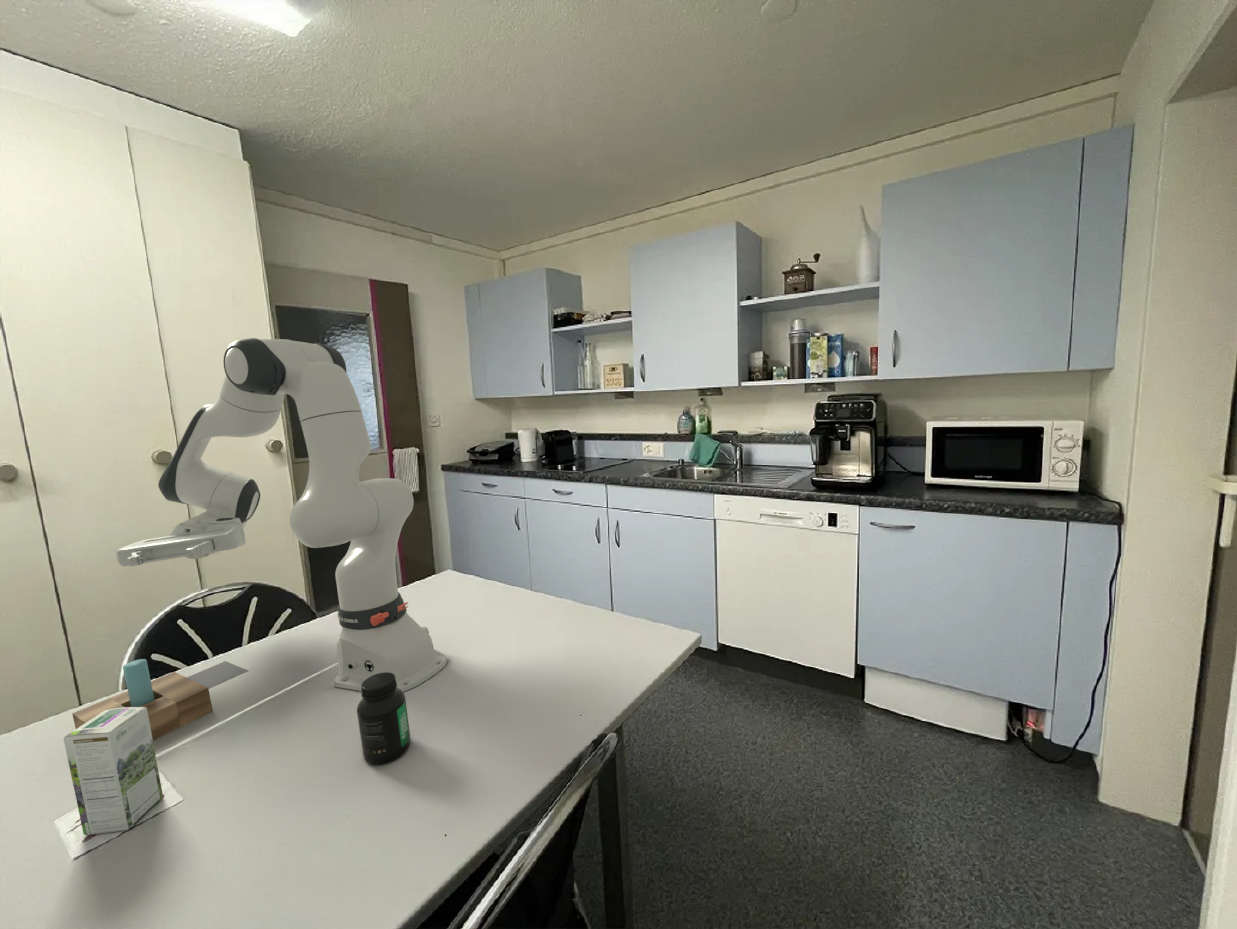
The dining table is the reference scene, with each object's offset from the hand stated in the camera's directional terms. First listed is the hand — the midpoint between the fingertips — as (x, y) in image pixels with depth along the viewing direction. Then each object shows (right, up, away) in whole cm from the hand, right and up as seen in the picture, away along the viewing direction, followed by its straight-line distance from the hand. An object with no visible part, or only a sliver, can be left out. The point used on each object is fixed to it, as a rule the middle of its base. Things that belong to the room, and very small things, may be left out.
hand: (162, 557), depth 96 cm
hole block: (+5, -29, -8) cm, 30 cm away
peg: (+5, -29, -8) cm, 30 cm away
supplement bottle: (+53, -27, -18) cm, 62 cm away
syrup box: (+21, -31, -28) cm, 47 cm away
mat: (+4, -27, +7) cm, 28 cm away
